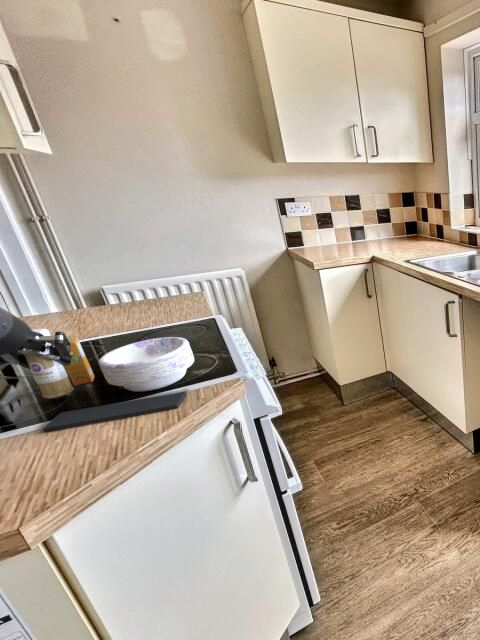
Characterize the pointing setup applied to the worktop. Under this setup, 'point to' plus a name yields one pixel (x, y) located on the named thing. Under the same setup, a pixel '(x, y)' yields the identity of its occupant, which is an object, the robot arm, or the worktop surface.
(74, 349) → the supplement box
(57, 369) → the sprinkles bottle
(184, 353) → the paper bowls
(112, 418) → the strip
